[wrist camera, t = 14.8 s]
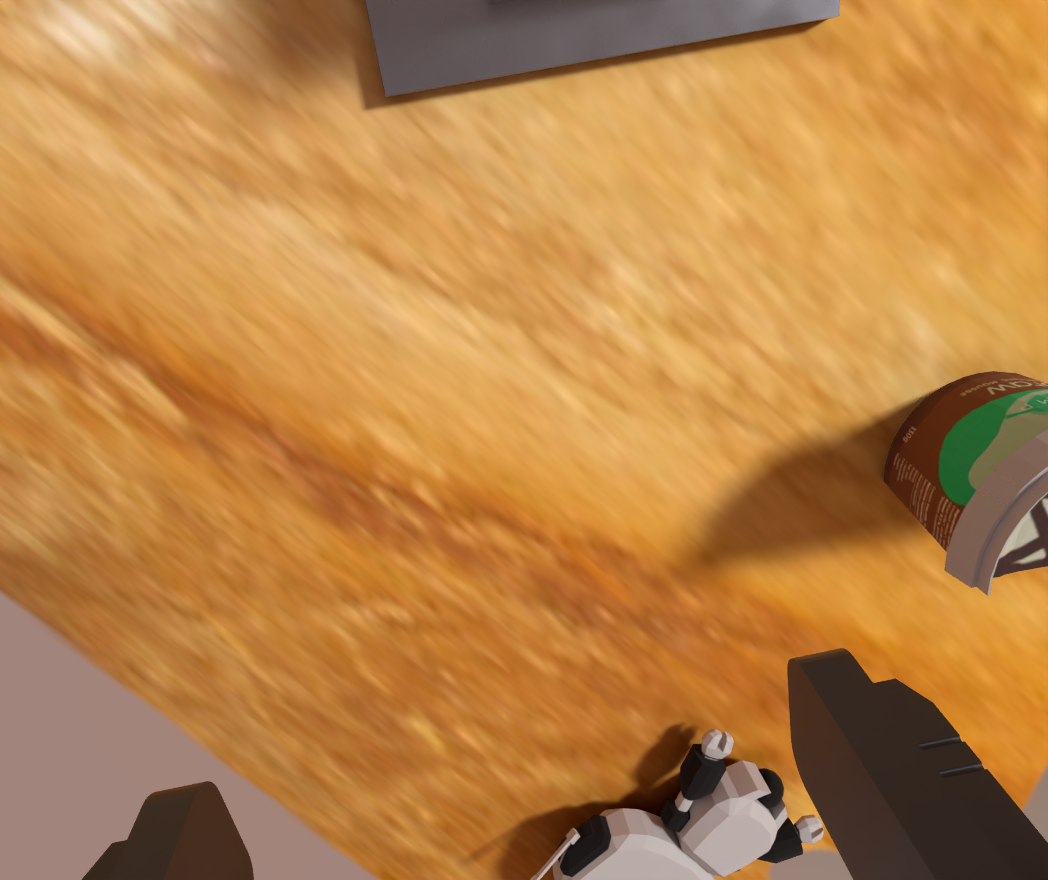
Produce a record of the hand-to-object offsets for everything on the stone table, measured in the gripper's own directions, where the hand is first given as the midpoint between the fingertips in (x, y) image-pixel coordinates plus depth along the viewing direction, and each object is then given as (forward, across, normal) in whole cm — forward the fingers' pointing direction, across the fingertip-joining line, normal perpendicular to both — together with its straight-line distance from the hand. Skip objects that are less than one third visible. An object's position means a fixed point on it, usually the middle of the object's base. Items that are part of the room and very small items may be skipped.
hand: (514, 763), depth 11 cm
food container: (+26, +24, -10) cm, 36 cm away
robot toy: (+26, +6, -34) cm, 43 cm away
